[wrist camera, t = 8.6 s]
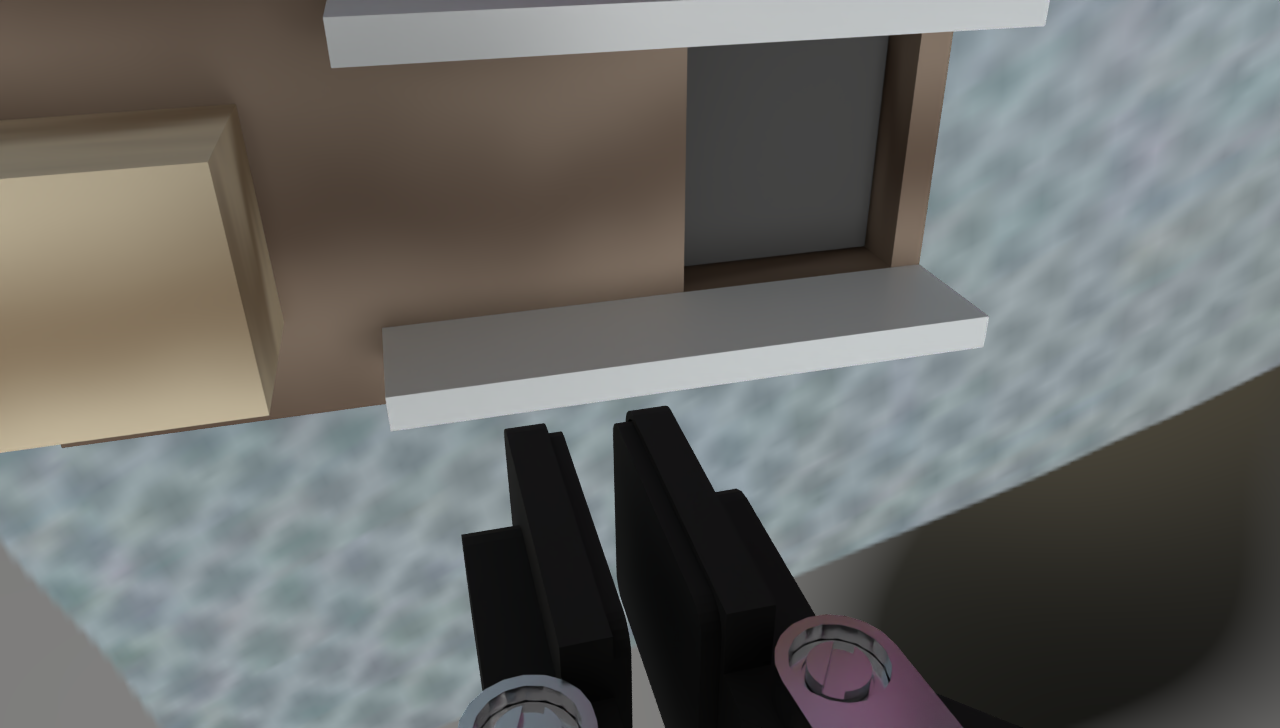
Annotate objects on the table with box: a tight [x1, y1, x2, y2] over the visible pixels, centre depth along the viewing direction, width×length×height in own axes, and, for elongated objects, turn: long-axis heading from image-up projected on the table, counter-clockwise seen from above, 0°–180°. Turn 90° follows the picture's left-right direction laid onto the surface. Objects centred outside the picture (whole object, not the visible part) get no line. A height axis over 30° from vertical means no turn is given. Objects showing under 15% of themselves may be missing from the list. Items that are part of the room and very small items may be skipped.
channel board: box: [0, 0, 1050, 448], centre depth 25 cm, size 13×26×6 cm, turn 91°
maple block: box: [0, 104, 284, 453], centre depth 22 cm, size 6×7×5 cm
